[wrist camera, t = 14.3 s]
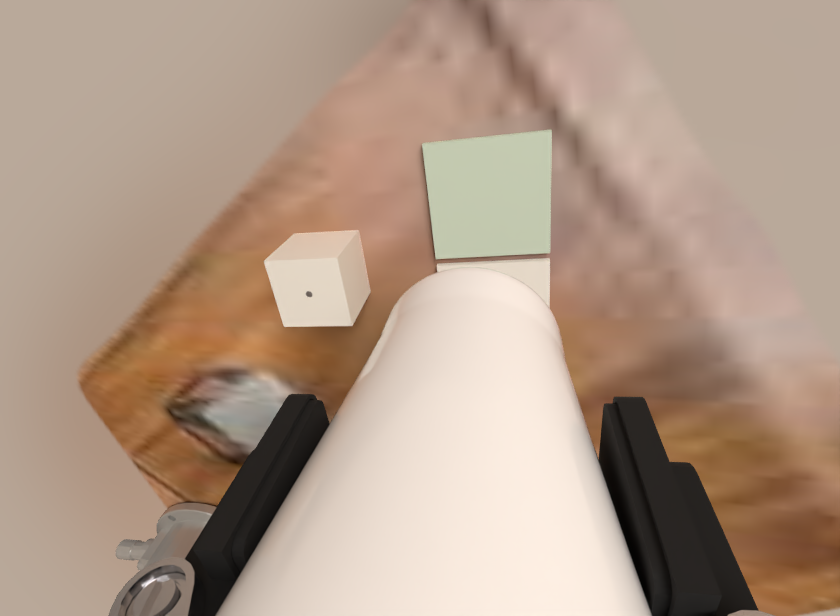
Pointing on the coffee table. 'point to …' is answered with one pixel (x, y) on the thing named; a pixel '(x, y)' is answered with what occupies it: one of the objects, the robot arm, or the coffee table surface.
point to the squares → (493, 202)
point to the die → (319, 278)
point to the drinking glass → (451, 477)
